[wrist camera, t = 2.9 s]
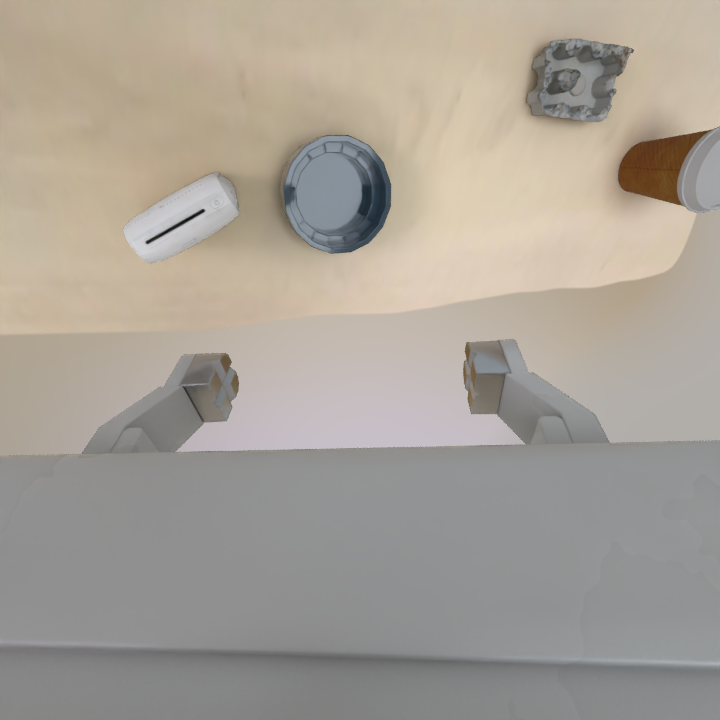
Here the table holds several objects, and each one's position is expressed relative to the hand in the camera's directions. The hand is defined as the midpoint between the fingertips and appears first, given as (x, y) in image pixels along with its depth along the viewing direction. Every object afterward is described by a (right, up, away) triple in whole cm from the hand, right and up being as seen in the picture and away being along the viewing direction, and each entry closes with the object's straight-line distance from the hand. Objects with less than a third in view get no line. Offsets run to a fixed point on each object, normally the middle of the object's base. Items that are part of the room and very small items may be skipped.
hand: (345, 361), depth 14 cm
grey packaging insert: (+25, +33, +35) cm, 54 cm away
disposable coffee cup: (+39, +27, +42) cm, 64 cm away
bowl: (-3, +19, +33) cm, 38 cm away
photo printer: (-18, +17, +30) cm, 39 cm away
